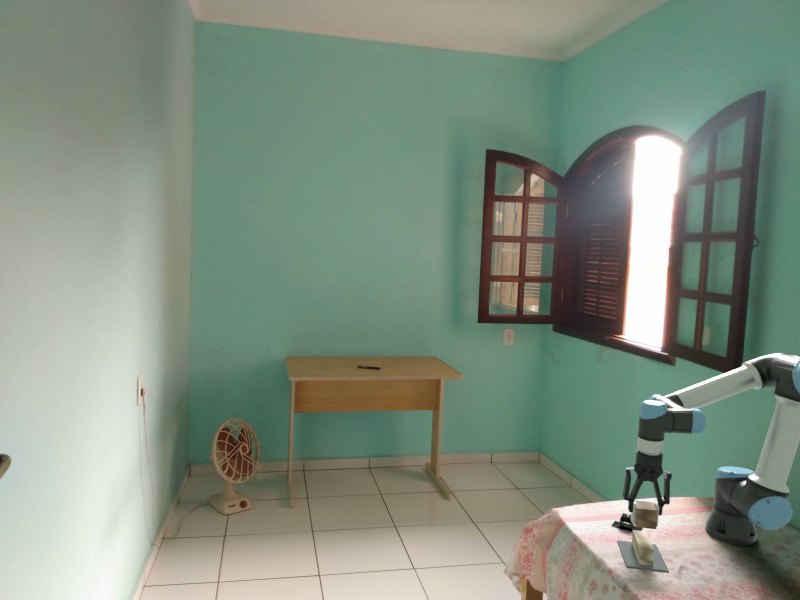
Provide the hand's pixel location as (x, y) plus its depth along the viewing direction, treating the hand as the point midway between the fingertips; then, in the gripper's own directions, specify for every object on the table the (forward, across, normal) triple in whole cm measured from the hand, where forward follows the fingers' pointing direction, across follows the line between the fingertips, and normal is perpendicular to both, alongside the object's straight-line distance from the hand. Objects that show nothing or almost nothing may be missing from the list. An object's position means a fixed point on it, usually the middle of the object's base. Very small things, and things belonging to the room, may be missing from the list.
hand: (644, 522), depth 190 cm
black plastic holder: (+12, +1, -20) cm, 23 cm away
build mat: (+11, 0, 0) cm, 11 cm away
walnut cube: (0, 0, 0) cm, 0 cm away
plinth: (+10, 0, 0) cm, 10 cm away
